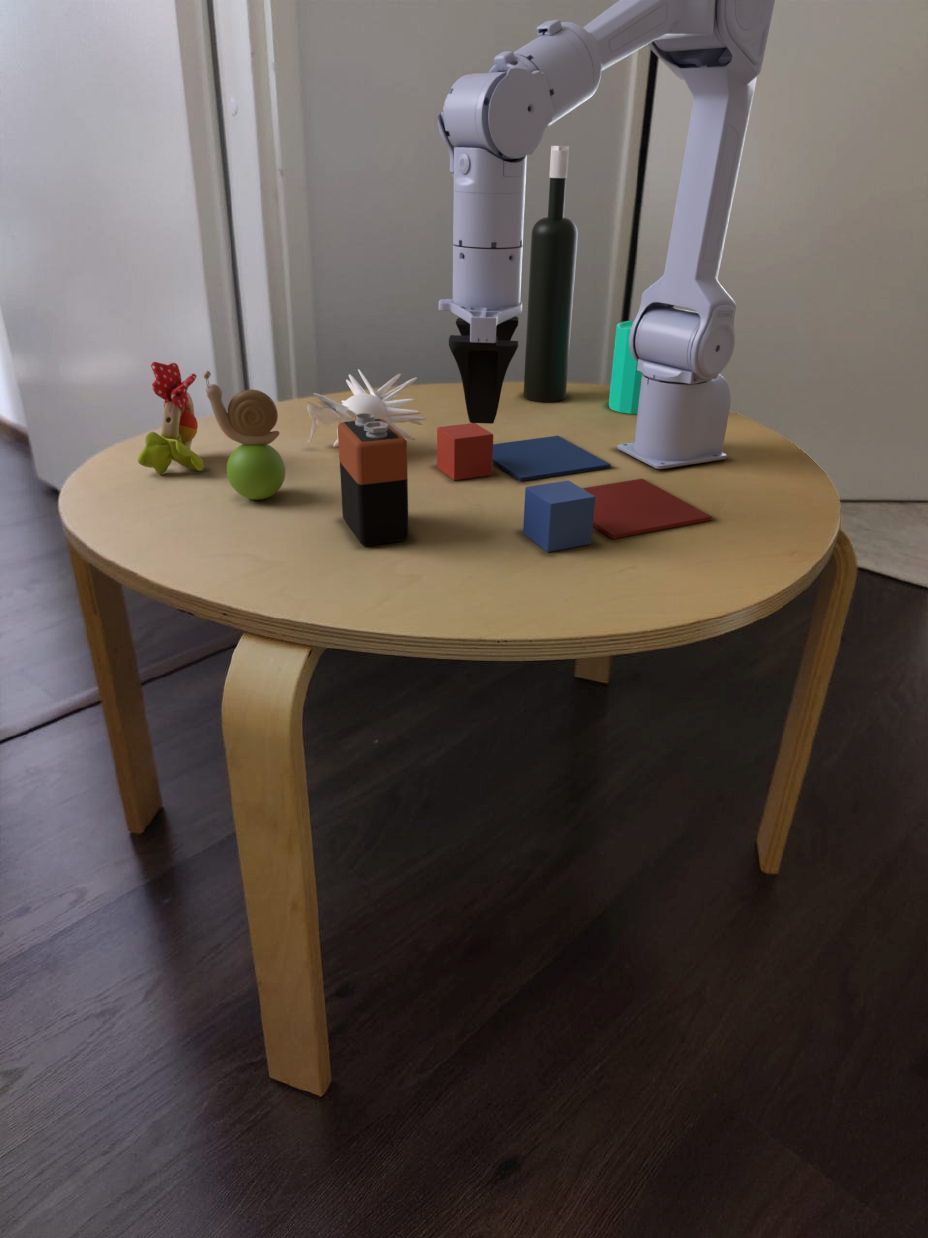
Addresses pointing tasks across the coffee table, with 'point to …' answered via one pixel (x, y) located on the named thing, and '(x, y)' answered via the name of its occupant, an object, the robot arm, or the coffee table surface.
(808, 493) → the coffee table surface
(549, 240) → the wine bottle
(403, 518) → the battery
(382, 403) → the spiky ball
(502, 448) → the blue mat
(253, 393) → the snail figurine
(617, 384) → the candle
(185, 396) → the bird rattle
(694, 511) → the red mat
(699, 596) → the coffee table surface
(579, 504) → the blue block
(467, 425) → the red block
